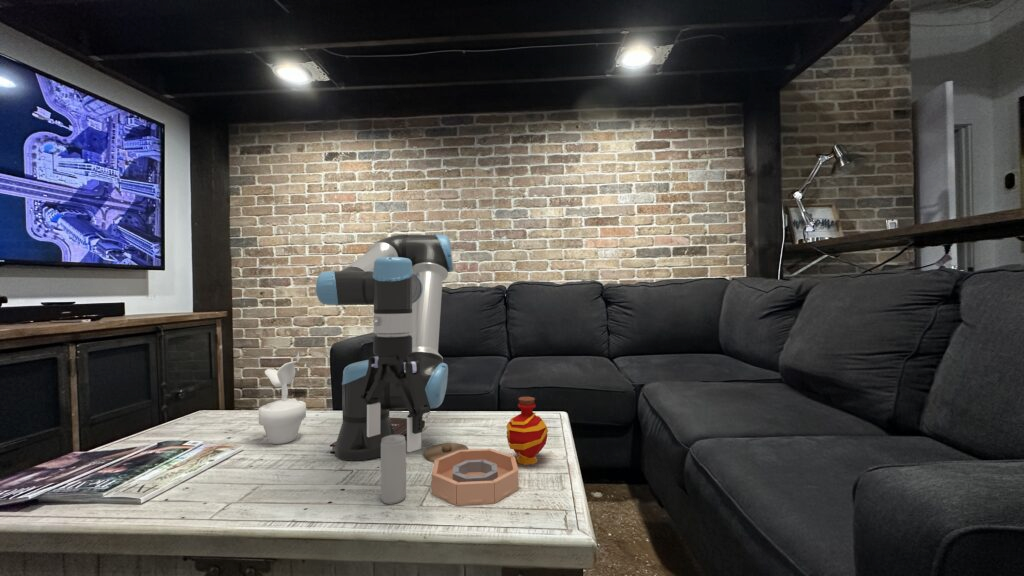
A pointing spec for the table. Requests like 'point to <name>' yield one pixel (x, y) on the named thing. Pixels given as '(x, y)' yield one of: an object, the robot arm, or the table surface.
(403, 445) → the beverage can
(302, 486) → the table surface
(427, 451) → the walnut lid
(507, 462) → the dish
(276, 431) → the potted plant
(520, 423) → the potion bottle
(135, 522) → the table surface
